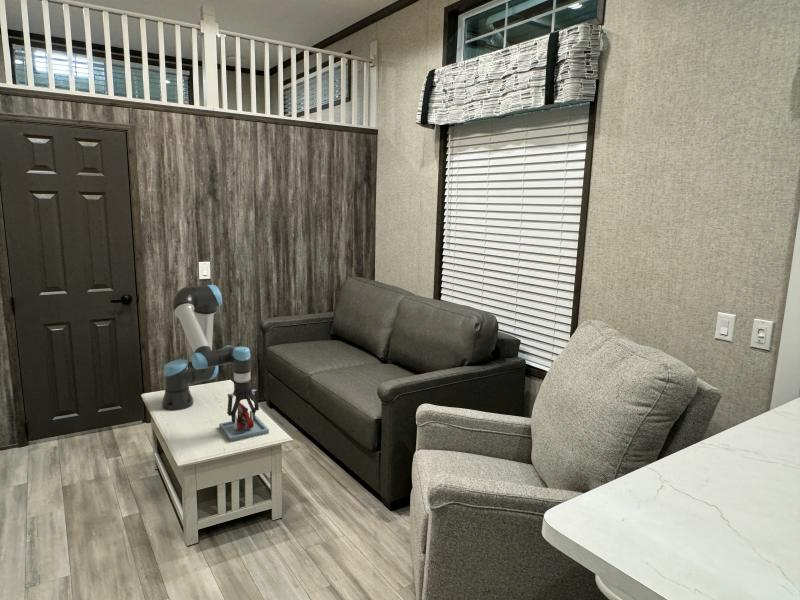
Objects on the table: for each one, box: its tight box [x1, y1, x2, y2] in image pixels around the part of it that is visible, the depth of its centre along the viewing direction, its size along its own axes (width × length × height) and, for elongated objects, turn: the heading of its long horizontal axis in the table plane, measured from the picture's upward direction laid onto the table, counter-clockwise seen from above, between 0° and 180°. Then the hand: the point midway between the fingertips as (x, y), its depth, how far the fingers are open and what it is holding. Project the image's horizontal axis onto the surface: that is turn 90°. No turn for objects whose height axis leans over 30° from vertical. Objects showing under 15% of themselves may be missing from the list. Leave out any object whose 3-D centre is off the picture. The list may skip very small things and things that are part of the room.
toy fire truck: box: [233, 402, 254, 431], centre depth 252 cm, size 7×12×10 cm, turn 36°
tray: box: [218, 415, 270, 443], centre depth 253 cm, size 18×18×2 cm
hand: (243, 426), depth 253 cm, fingers closed on toy fire truck, 7 cm apart
